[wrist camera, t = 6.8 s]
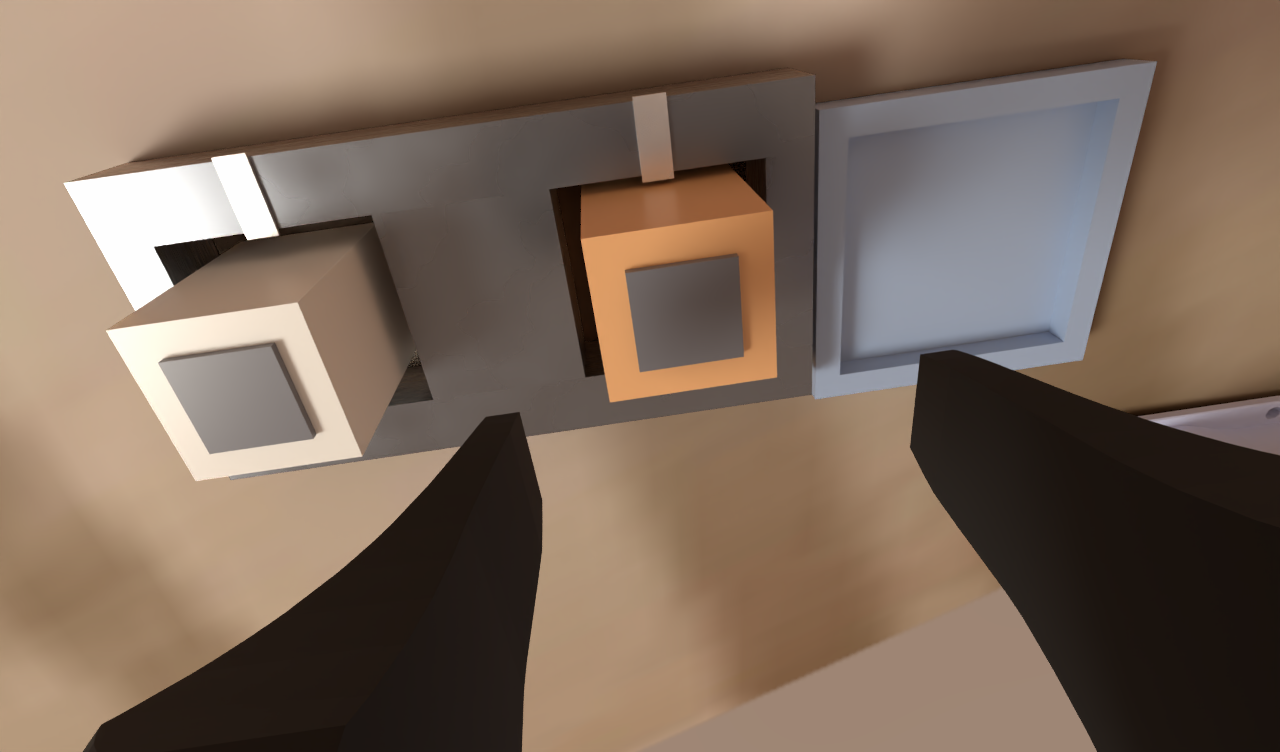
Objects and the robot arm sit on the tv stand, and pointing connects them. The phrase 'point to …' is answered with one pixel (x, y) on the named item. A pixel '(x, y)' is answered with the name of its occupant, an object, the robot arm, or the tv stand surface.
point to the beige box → (273, 352)
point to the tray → (967, 220)
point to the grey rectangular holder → (486, 238)
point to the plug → (680, 281)
